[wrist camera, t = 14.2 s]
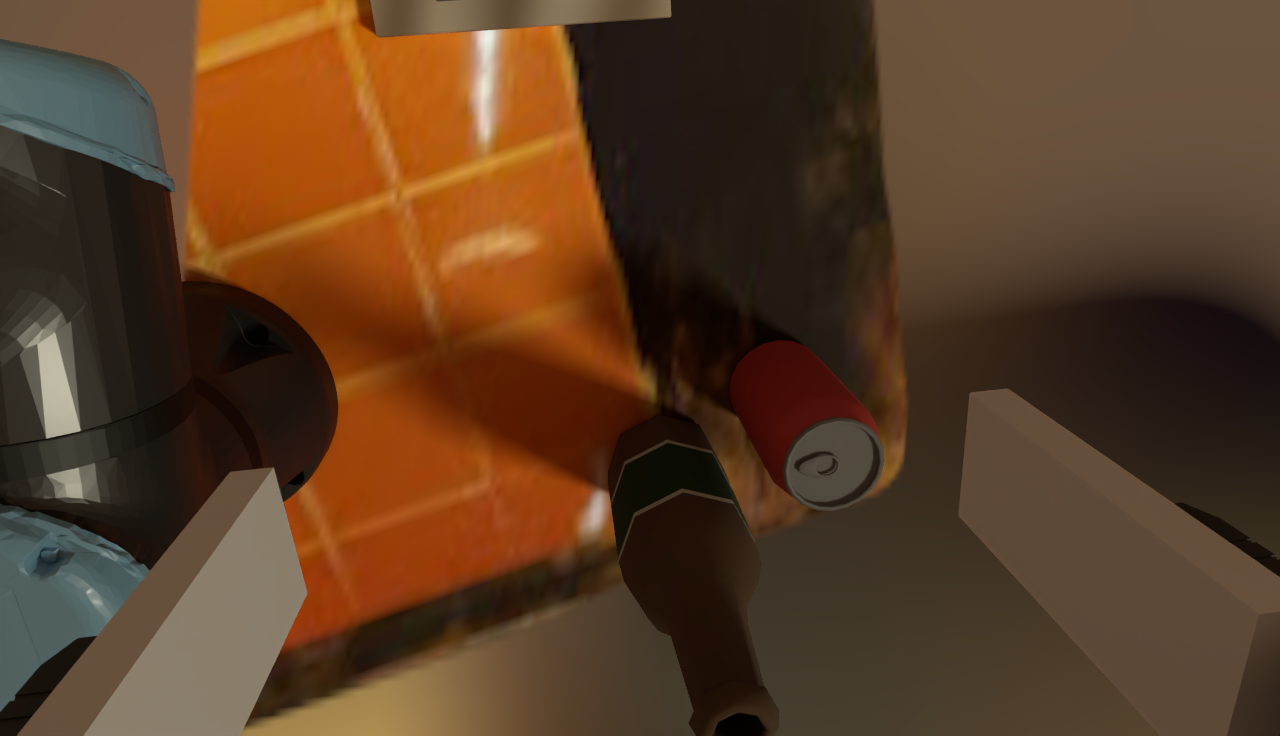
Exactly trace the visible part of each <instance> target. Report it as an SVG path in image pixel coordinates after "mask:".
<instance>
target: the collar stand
mask: <svg viewBox="0 0 1280 736" xmlns="http://www.w3.org/2000/svg"><path fill="white" fill-rule="evenodd" d="M370 2H371V8H372V13H373V19H374V25H375V31H376V36H377V37H394V36H409V35H423V34H438V33H453V32H467V31H482V30H497V29H511V28H526V27H540V26H555V25H570V24H584V23H599V22H613V21H628V20H643V19H657V18H669V17H671V3H670V0H370Z"/></svg>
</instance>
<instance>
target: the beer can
mask: <svg viewBox="0 0 1280 736" xmlns="http://www.w3.org/2000/svg"><path fill="white" fill-rule="evenodd" d="M729 393H730V399H731V405H732V407H733V408H734V410H735V412H736V414H737V416H738V418H739V419H740V421H741V423H742V425H743V427H744V429H745V431H746V432H747V434H748V436H749V438H750V440H751V442H752V444H753V445H754V447H755V449H756V451H757V453H758V455H759V457H760V458H761V460H762V462H763V464H764V466H765V468H766V469H767V471H768V473H769V475H770V476H771V478H772V480H773V481H774V483H776V484H777V485H778V486H779V487H780V488H782V489H783V490H784V491H785V492H786V493H788V494H789V495H790V496H791V497H794V498H795V499H796V500H797V501H799V502H800V503H801V504H802V505H804V506H807V507H810V508H812V509H815V510H828V511H832V510H837V509H841V508H845V507H848V506H850V505H852V504H854V503H856V502H857V501H859V500H861V499H862V498H863V497H864V496H865V495H867V494H868V493H869V492H870V491H871V490H872V489H873V488H874V486H875V484H876V483H877V481H878V479H879V478H880V476H881V473H882V469H883V465H884V451H883V446H882V444H881V442H880V440H879V432H878V429H877V427H876V424H875V422H874V420H873V418H872V416H871V414H870V412H869V411H868V410H867V409H866V408H865V407H864V406H863V405H862V404H861V403H860V401H859V400H858V399H857V398H856V397H855V396H854V395H853V394H852V393H851V392H850V391H849V390H848V389H847V388H846V386H845V385H844V384H843V383H842V382H841V381H840V380H839V379H838V378H837V377H836V376H835V375H834V374H833V373H832V372H831V370H830V369H829V368H828V367H827V366H826V365H825V364H824V363H823V362H822V361H821V360H820V359H819V358H818V357H817V356H816V355H815V354H814V353H813V352H812V351H811V350H810V349H809V348H808V347H806V346H804V345H801V344H799V343H796V342H794V341H783V340H777V341H773V342H768V343H764V344H762V345H760V346H758V347H756V348H755V349H753V350H751V351H749V352H748V353H747V354H746V355H745V356H744V357H743V359H742V360H741V361H740V362H739V363H738V364H737V366H736V368H735V370H734V372H733V374H732V376H731V382H730V388H729Z"/></svg>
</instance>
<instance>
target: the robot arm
mask: <svg viewBox="0 0 1280 736" xmlns="http://www.w3.org/2000/svg"><path fill="white" fill-rule="evenodd" d="M170 192H175V185H174V181H173V178H171V177H170V176H169V175H168V174H167V172H166V167H165V161H164V155H163V150H162V145H161V139H160V133H159V128H158V123H157V117H156V112H155V108H154V105H153V103H152V101H151V98H150V97H149V95H148V93H147V92H146V90H145V89H144V88H143V87H142V85H141V84H140V83H139V82H138V81H137V80H136V79H134V78H133V77H132V76H131V75H130V74H128V73H127V72H125V71H124V70H122V69H120V68H118V67H116V66H114V65H112V64H110V63H107V62H104V61H100V60H96V59H93V58H89V57H84V56H80V55H76V54H72V53H68V52H63V51H58V50H53V49H49V48H44V47H39V46H34V45H29V44H24V43H19V42H13V41H8V40H3V39H0V736H240V735H241V733H242V730H243V728H244V726H245V724H246V722H247V720H248V718H249V716H250V713H251V711H252V709H253V707H254V705H255V703H256V701H257V699H258V697H259V694H260V692H261V690H262V688H263V686H264V684H265V682H266V680H267V677H268V675H269V673H270V671H271V669H272V667H273V665H274V663H275V661H276V658H277V656H278V654H279V652H280V650H281V648H282V646H283V644H284V641H285V639H286V637H287V635H288V633H289V631H290V629H291V627H292V625H293V622H294V620H295V618H296V616H297V614H298V612H299V610H300V608H301V605H302V603H303V601H304V599H305V597H306V595H307V590H306V586H305V582H304V579H303V575H302V571H301V567H300V564H299V560H298V556H297V553H296V549H295V545H294V541H293V538H292V534H291V530H290V526H289V523H288V519H287V515H286V511H285V508H284V504H283V502H284V501H286V500H287V499H288V498H290V497H291V496H292V495H294V494H295V493H296V492H297V491H298V490H299V489H300V488H302V487H303V485H304V484H305V483H306V482H307V481H308V480H309V479H310V478H311V476H312V475H313V474H314V472H315V471H316V469H317V468H318V466H319V464H320V463H321V461H322V459H323V458H324V456H325V454H326V452H327V451H328V449H329V447H330V444H331V442H332V439H333V437H334V433H335V429H336V425H337V417H338V400H337V392H336V387H335V383H334V379H333V376H332V373H331V371H330V368H329V366H328V364H327V362H326V360H325V358H324V356H323V354H322V353H321V351H320V349H319V348H318V346H317V345H316V344H315V342H314V341H313V339H312V338H311V337H310V336H309V335H308V334H307V332H306V331H305V330H304V329H303V328H302V327H301V326H300V325H299V324H298V323H297V322H296V321H294V320H293V319H292V318H291V317H290V316H288V315H287V314H286V313H285V312H283V311H282V310H280V309H279V308H277V307H276V306H274V305H273V304H271V303H269V302H268V301H266V300H264V299H262V298H260V297H258V296H255V295H253V294H251V293H249V292H246V291H243V290H240V289H237V288H234V287H230V286H226V285H222V284H216V283H210V282H197V281H186V282H182V281H181V274H180V266H179V258H178V251H177V243H176V236H175V229H174V221H173V214H172V206H171V198H170ZM959 517H960V518H961V519H962V520H963V521H964V522H965V523H966V524H967V525H968V526H969V528H970V529H971V530H972V531H973V532H974V533H975V534H976V535H977V536H978V537H979V538H980V539H981V541H982V542H983V543H984V544H985V545H986V546H987V547H988V548H989V549H990V550H991V551H992V553H993V554H994V555H995V556H996V557H997V558H998V559H999V560H1000V561H1001V562H1002V563H1003V565H1004V566H1005V567H1006V568H1007V569H1008V570H1009V571H1010V572H1011V573H1012V574H1013V575H1014V576H1015V578H1016V579H1017V580H1018V581H1019V582H1020V583H1021V584H1022V585H1023V586H1024V587H1025V588H1026V590H1027V591H1028V592H1029V593H1030V594H1031V595H1032V596H1033V597H1034V598H1035V599H1036V601H1037V602H1038V603H1039V604H1040V605H1041V606H1042V607H1043V608H1044V609H1045V610H1046V611H1047V612H1048V613H1049V615H1050V616H1051V617H1052V618H1053V619H1054V620H1055V621H1056V622H1057V623H1058V624H1059V626H1060V627H1061V628H1062V629H1063V630H1064V631H1065V632H1066V633H1067V634H1068V635H1069V636H1070V638H1071V639H1072V640H1073V641H1074V642H1075V643H1076V644H1077V645H1078V646H1079V647H1080V648H1081V649H1082V650H1083V652H1084V653H1085V654H1086V655H1087V656H1088V657H1089V658H1090V659H1091V660H1092V662H1093V663H1094V664H1095V665H1096V666H1097V667H1098V668H1099V669H1100V670H1101V671H1102V672H1103V673H1104V675H1105V676H1106V677H1107V678H1108V679H1109V680H1110V681H1111V682H1112V683H1113V684H1114V685H1115V686H1116V688H1117V689H1118V690H1119V691H1120V692H1121V693H1122V694H1123V695H1124V696H1125V697H1126V698H1127V700H1128V701H1129V702H1130V703H1131V704H1132V705H1133V706H1134V707H1135V708H1136V709H1137V711H1138V712H1139V713H1140V714H1141V715H1142V716H1143V717H1144V718H1145V719H1146V720H1147V721H1148V723H1149V724H1150V725H1151V726H1152V727H1153V728H1154V729H1155V730H1156V731H1157V732H1158V733H1159V735H1160V736H1280V559H1279V560H1277V559H1276V557H1275V554H1273V553H1272V552H1270V551H1269V550H1267V549H1266V548H1264V547H1263V546H1261V545H1259V544H1258V543H1257V542H1256V543H1252V542H1251V540H1250V538H1249V537H1248V536H1246V535H1244V534H1243V533H1242V532H1240V531H1239V530H1237V529H1236V528H1234V527H1233V526H1231V525H1229V524H1228V523H1227V522H1225V521H1224V520H1222V519H1220V518H1218V517H1216V516H1213V515H1211V514H1208V513H1206V512H1204V511H1201V510H1199V509H1197V508H1194V507H1192V506H1189V505H1187V504H1184V503H1175V504H1173V503H1172V502H1171V501H1169V500H1168V499H1166V498H1165V497H1163V496H1162V495H1160V494H1159V493H1158V492H1156V491H1155V490H1153V489H1152V488H1150V487H1149V486H1147V485H1146V484H1144V483H1143V482H1142V481H1140V480H1139V479H1137V478H1136V477H1134V476H1133V475H1131V474H1130V473H1129V472H1127V471H1126V470H1124V469H1123V468H1121V467H1120V466H1118V465H1117V464H1116V463H1114V462H1113V461H1111V460H1110V459H1109V458H1107V457H1105V456H1104V455H1103V454H1101V453H1100V452H1098V451H1097V450H1095V449H1094V448H1093V447H1091V446H1090V445H1088V444H1087V443H1085V442H1084V441H1082V440H1081V439H1080V438H1078V437H1077V436H1075V435H1074V434H1072V433H1071V432H1070V431H1068V430H1067V429H1065V428H1064V427H1062V426H1061V425H1059V424H1058V423H1056V422H1055V421H1053V420H1052V419H1051V418H1049V417H1047V416H1046V415H1045V414H1044V413H1042V412H1041V411H1039V410H1038V409H1036V408H1035V407H1033V406H1032V405H1031V404H1029V403H1028V402H1026V401H1025V400H1023V399H1022V398H1020V397H1019V396H1018V395H1016V394H1015V393H1013V392H1012V391H1010V390H1009V389H1000V390H991V391H981V392H972V393H970V396H969V407H968V418H967V429H966V440H965V451H964V462H963V473H962V484H961V495H960V506H959Z"/></svg>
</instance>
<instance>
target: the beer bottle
mask: <svg viewBox="0 0 1280 736" xmlns="http://www.w3.org/2000/svg"><path fill="white" fill-rule="evenodd" d="M608 485H609V493H610V500H611V508H612V515H613V522H614V530H615V537H616V545H617V552H618V559H619V564H620V568H621V572H622V575H623V579H624V582H625V583H626V585H627V587H628V588H629V590H630V591H631V593H632V594H633V596H634V597H635V599H636V600H637V602H638V603H639V605H640V607H641V608H642V610H643V611H644V613H645V614H646V616H647V617H648V619H649V620H650V621H651V622H652V623H653V625H654V626H655V627H656V629H657V630H658V631H660V632H662V633H665V634H667V635H670V636H671V638H672V641H673V644H674V648H675V651H676V654H677V658H678V661H679V664H680V668H681V671H682V674H683V677H684V681H685V684H686V687H687V690H688V694H689V697H690V700H691V704H692V707H693V710H694V712H693V714H692V717H691V719H690V722H689V725H690V726H691V728H692V730H693V731H694V733H695V735H696V736H775V734H776V731H777V729H778V727H779V709H778V708H777V706H776V705H775V703H774V701H773V700H772V698H771V696H770V694H769V693H768V691H767V689H766V688H765V687H764V684H763V680H762V676H761V673H760V669H759V665H758V661H757V657H756V653H755V649H754V646H753V642H752V638H751V634H750V630H749V626H748V619H747V607H748V605H749V603H750V600H751V598H752V595H753V593H754V591H755V589H756V586H757V584H758V581H759V575H760V568H761V560H760V556H759V553H758V550H757V546H756V543H755V541H754V538H753V536H752V534H751V531H750V529H749V527H748V524H747V522H746V520H745V517H744V515H743V513H742V510H741V508H740V506H739V503H738V501H737V499H736V497H735V494H734V492H733V490H732V487H731V485H730V483H729V480H728V478H727V476H726V473H725V471H724V469H723V467H722V465H721V463H720V462H719V460H718V458H717V456H716V454H715V452H714V451H713V449H712V447H711V445H710V443H709V441H708V440H707V438H706V436H705V434H704V432H703V431H702V429H701V427H700V425H699V424H695V423H691V422H687V421H683V420H679V419H675V418H671V417H667V416H663V415H659V414H658V415H656V416H655V417H653V418H651V419H649V420H647V421H645V422H643V423H641V424H639V425H637V426H635V427H633V428H631V429H629V430H628V431H626V432H624V433H622V434H620V437H619V440H618V443H617V446H616V449H615V452H614V455H613V458H612V461H611V464H610V467H609V470H608Z"/></svg>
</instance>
